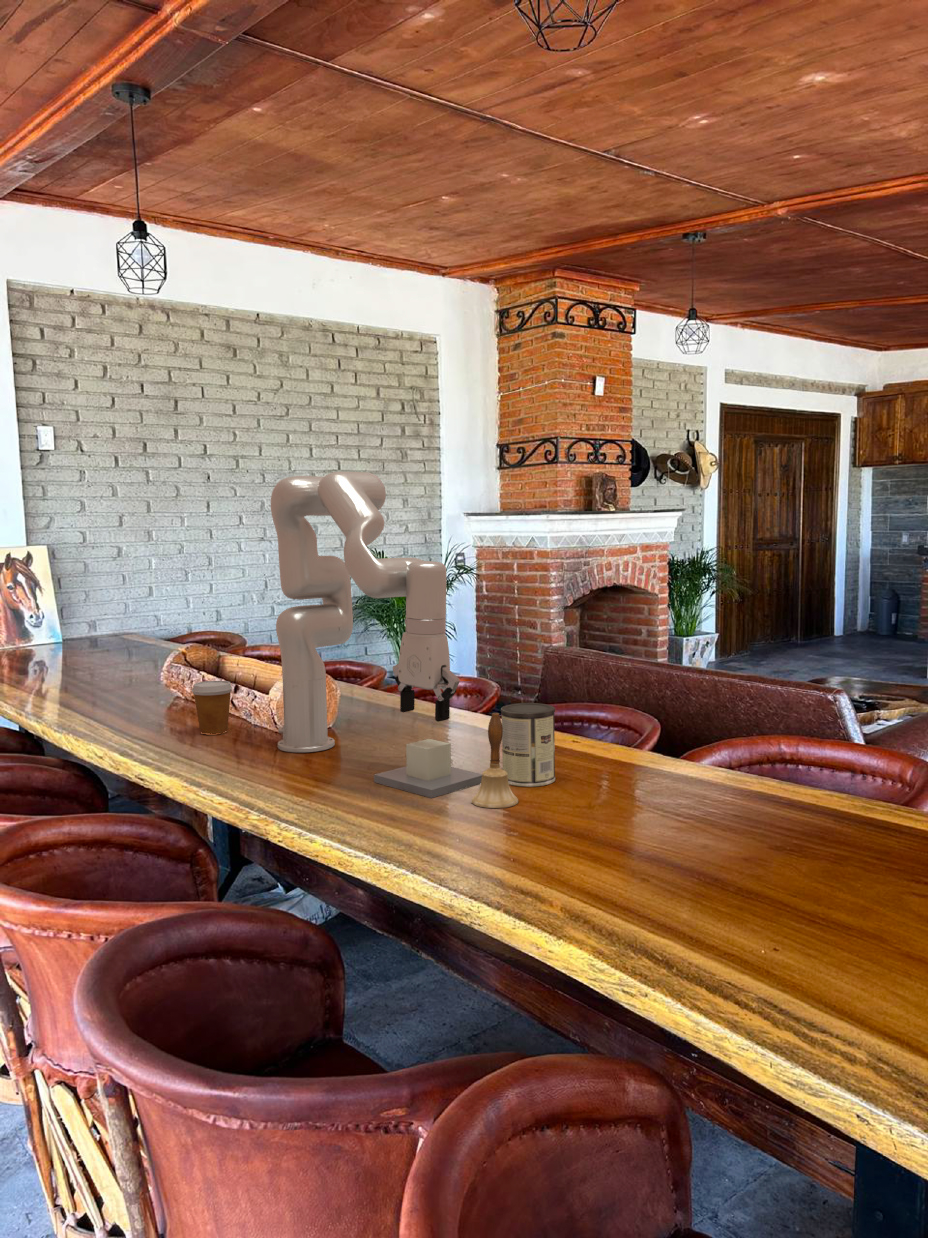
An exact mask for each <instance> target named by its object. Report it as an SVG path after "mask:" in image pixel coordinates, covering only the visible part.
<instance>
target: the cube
mask: <svg viewBox="0 0 928 1238" xmlns="http://www.w3.org/2000/svg"><path fill="white" fill-rule="evenodd" d="M451 744H452V743H450V742H446V741H441V740H435V739H431V738H427V739H423V740H417V741H413V742H410V743H405V752H406V753H405V754H406V755H405V756H406V759H405V760H406V762H405V763H406V766H407V775H409V776H413V777H416V778H420V779H424V780H428V781H429V780H432V779H436V778H439V777H443V776H447V775H450V774H451V767H452V760H451V758H452V757H451V756H452V753H451V752H452V751H451V749H452V747H451Z"/></svg>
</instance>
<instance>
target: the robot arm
mask: <svg viewBox="0 0 928 1238" xmlns="http://www.w3.org/2000/svg"><path fill="white" fill-rule="evenodd" d="M386 493H387V492H386V488H385V484H384V483H383V482H382V480H381V478H379V477H378V476H377V475H376V474H373V473H371V472H365V471H364V472H363V471H334V472H330V473H328V474H326V475H324V476H313V475H293V476H288V477H285V478H282V479H280V480H279V481H278V482H277V483H276V484H275V485H274V488H273V489H272V492H271V496H270V513H271V517H272V521H273V525H274V528H275V531H276V535H277V536H276V537H277V548H278V562H279V563H278V564H279V566H278V567H279V579H280V580H279V582H280V587H281V591H282V593H283V595H284V596H285V597H286V598H287V599H291V600H316V599H322V600H321V601H322V603H321V604H308V605H307V604H306V605H295V606H291V607H289V608H286V609H285V610H283V611H282V612H280V614H278V616H277V618H276V624H275V630H276V637H277V640H278V645H279V651H280V659H281V672H282V674H281V675H282V676H281V677H282V678H281V679H282V699H283V703H282V704H283V725H282V726H279V728H277V732H278V733H279V734H282V739H281V740H279V741H278V742H277V749H278V750H280V751H282V752H287V753H300V754H301V753H315V752H321V751H326V750H329V749H332V748H333V747H334V746H335V744H336V743H335V741H336V740H335V739H334V738H333V737H330V736H329V735H328V707H327V705H328V704H327V677H326V676H327V675H326V672H327V671H326V667H325V663H324V661H323V659H322V657H321V656H320V655H319V653H318V652H317V649H318V648H322V647H330V646H338V645H339V646H340V645H342V644H345V643H346V642H348V641H349V639H350V638H351V635H352V633H353V630H354V629H353V627H354V618H353V617H354V615H353V599H352V581H351V579H352V580H353V582H354V583H355V585H356V586H357V587H358V588H359V589H360V591H362V593H364V595H366V596H367V597H370V598H372V599H385V598H386V599H388V598H398V597H399V598H401V597H403V598H404V597H405V619H404V624H405V632H403V633H402V637H401V641H400V645H399V646H400V647H399V648H400V649H399V655H398V656H399V657H398V663H397V664H395V665H393V666H392V672H393V675H394V681H395V683H396V684H397V690H398V691H399V693H400V698H399V699H400V701H399V702H400V703H399V704H400V705H399V706H400V707H399V710H400V713H407V712H408V713H409V712H412V711H414V710H415V701H416V700H415V698H416V697H415V695H416V694H415V690H414V689H413V688H418V689H422V690H427V691H429V690H433V692H434V694H435V696H436V698H437V700H435V702H434V703H435V705H434V708H435V709H434V711H435V712H434V720H435V722H443V721H448V720H449V719H450V714H451V713H450V709H451V708H450V707H451V706H450V704H451V703H450V700H452V699H453V697H454V695H455V693H456V692H457V689H458V687H459V684H460V681H461V680H460V678H459V677H458V676H457V675H455V673H453V672H452V671H451V662H450V661H451V660H450V649H449V647H450V646H449V641H448V636H447V634H446V627H447V626H446V625H447V622H446V620H447V619H446V617H447V616H446V615H447V614H446V613H447V568H446V566H445V564H444V563H442V562H440V561H433V560H432V561H431V560H427V561H426V560H422V559H420V558H417V557H385V558H376V557H375V556H374V555H373V553H372V552H371V551H370V549H369V548H368V547H367V546H369V545H370V544H372V543H374V541H375V540H377V539H378V537H380V535H381V534H382V532H383V530H384V528H385V518H384V516H383V515H382V513H381V512H380V511H379V510H380V509H382V508H383V506H384V504H385V501H386V496H387V495H386ZM307 516H309V517H310V516H311V517H312V516H314V517H321V516H322V517H323V516H324V517H326V516H327V517H328V516H329V517H331V518H332V520H333V521H334V523H335V524H336V526H337V527H338V528H339V530H340V531H341V533H342V535H344V537H345V540H344V544H343V545H344V546H343V559H344V560H343V559H341V558H340V557H339V556H335V555H319V552H318V538H317V535H316V532H315V530H314V528H313V527H312V525H311V523H310V522H309V521H308V519H307V518H306V517H307ZM441 689H442V690H441Z"/></svg>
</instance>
